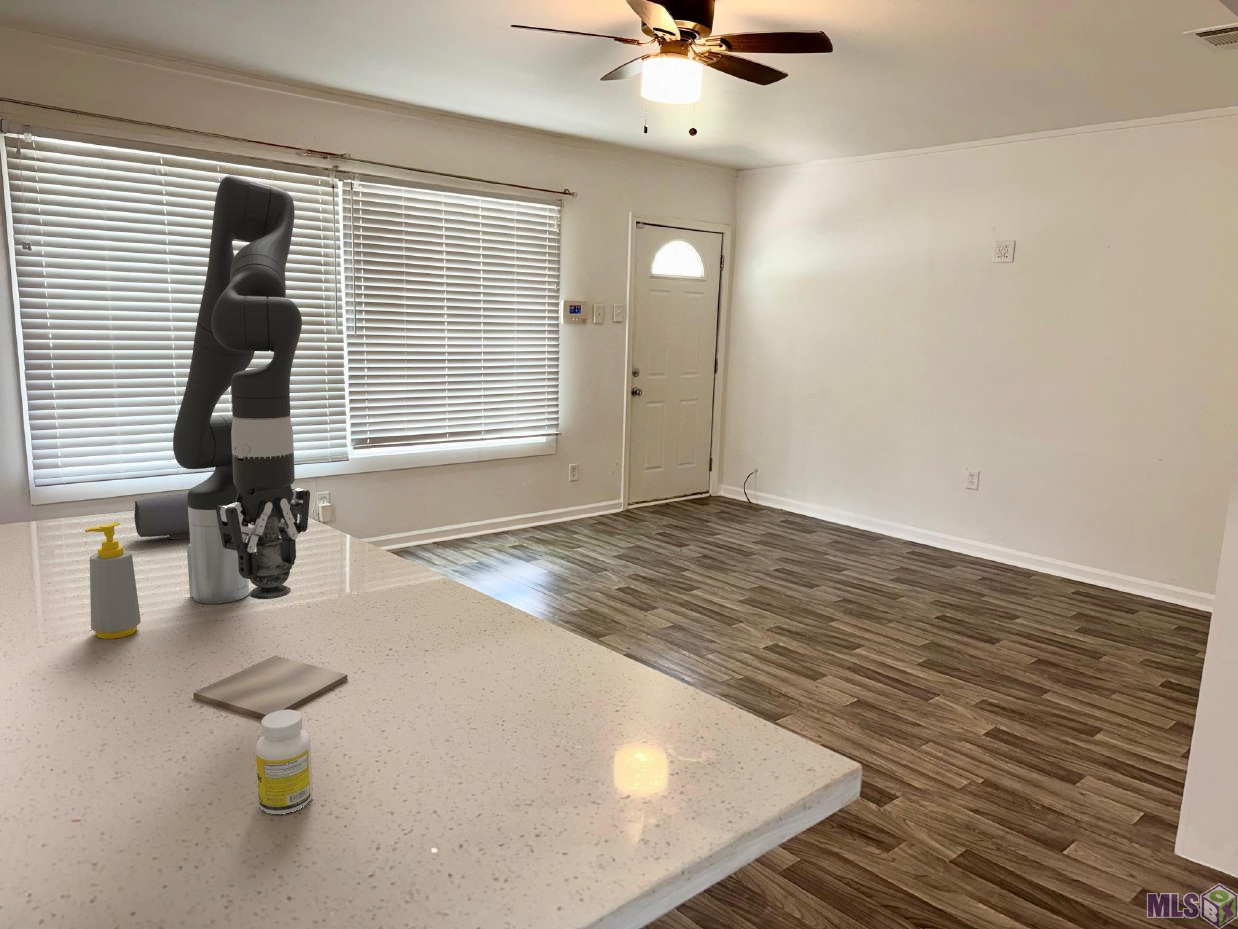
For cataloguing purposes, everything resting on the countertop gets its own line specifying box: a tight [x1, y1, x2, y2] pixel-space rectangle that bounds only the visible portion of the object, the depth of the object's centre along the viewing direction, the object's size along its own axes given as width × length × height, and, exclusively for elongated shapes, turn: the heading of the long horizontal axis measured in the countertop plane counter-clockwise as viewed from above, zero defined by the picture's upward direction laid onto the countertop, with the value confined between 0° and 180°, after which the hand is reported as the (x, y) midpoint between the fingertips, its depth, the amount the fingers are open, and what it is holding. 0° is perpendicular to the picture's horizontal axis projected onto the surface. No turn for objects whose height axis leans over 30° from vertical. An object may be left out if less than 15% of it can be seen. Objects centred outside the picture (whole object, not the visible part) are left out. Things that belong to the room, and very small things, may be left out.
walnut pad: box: [193, 655, 349, 720], centre depth 114 cm, size 14×14×1 cm
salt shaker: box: [248, 517, 293, 600], centre depth 110 cm, size 6×6×12 cm
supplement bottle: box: [255, 709, 314, 815], centre depth 87 cm, size 5×5×10 cm
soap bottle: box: [84, 521, 142, 640], centre depth 129 cm, size 7×7×18 cm
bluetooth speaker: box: [133, 492, 190, 540], centre depth 187 cm, size 23×9×10 cm, turn 130°
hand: (268, 571), depth 111 cm, fingers closed on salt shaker, 6 cm apart
